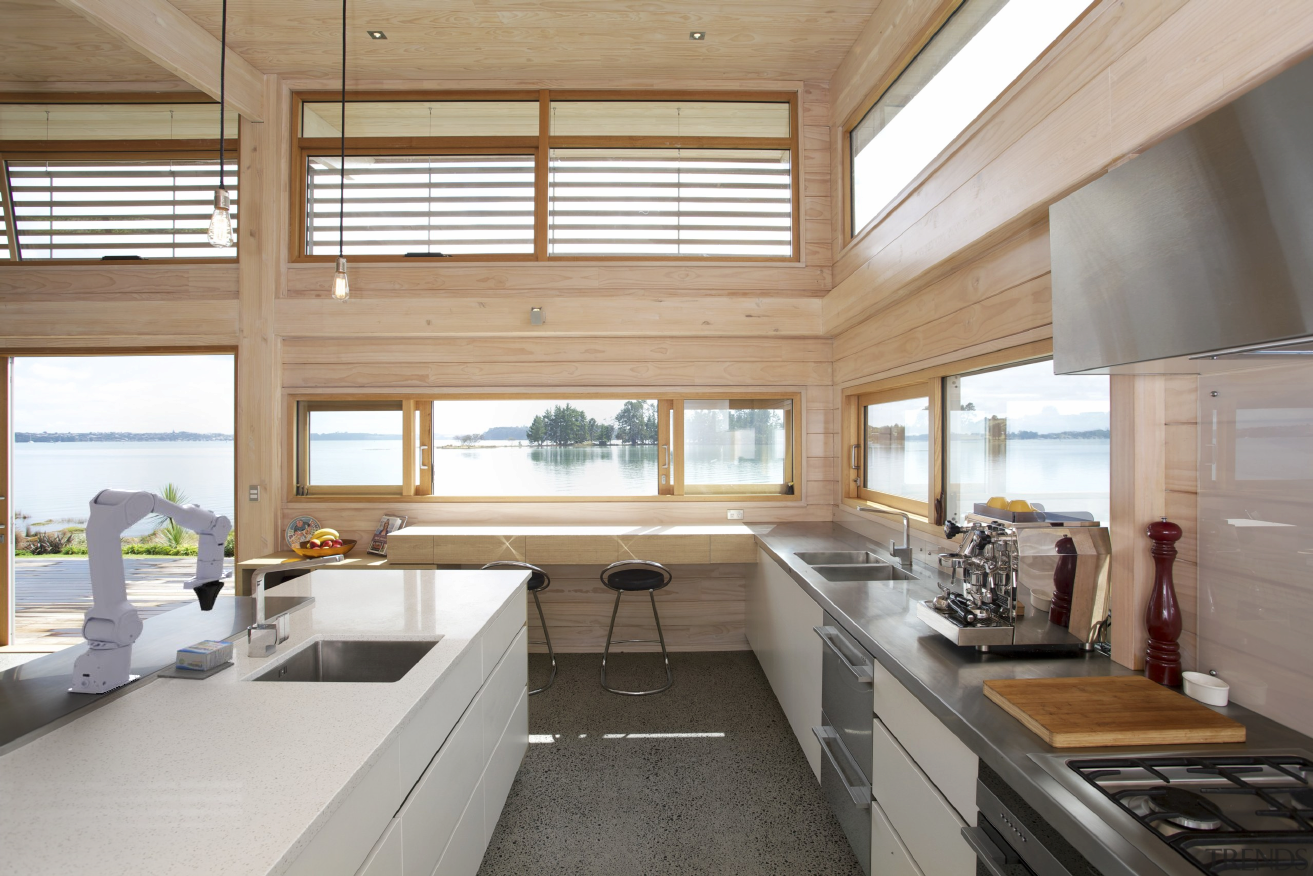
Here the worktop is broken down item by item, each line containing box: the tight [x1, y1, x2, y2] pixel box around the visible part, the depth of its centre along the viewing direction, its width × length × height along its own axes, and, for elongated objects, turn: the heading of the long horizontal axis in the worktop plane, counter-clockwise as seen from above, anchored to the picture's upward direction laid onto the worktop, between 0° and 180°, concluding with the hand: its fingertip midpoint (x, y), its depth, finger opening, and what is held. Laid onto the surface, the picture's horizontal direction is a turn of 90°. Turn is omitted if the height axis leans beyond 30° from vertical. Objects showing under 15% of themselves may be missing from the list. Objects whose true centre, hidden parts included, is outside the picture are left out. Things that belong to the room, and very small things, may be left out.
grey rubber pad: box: [156, 661, 235, 680], centre depth 144 cm, size 10×11×1 cm
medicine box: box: [175, 639, 234, 671], centre depth 148 cm, size 8×4×9 cm
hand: (206, 610), depth 158 cm, fingers closed
